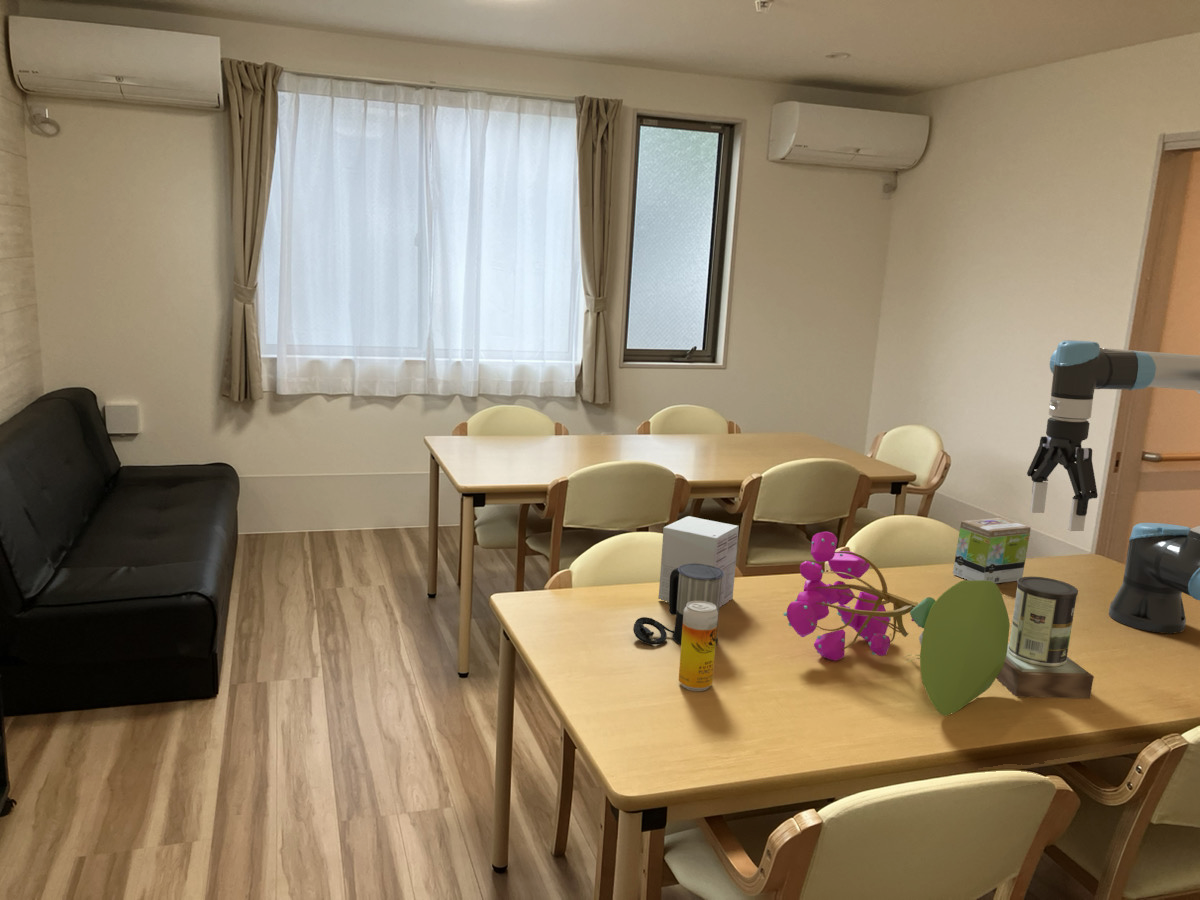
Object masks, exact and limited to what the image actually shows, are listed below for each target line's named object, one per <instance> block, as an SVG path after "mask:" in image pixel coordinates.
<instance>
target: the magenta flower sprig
mask: <svg viewBox="0 0 1200 900" xmlns="http://www.w3.org/2000/svg"><path fill="white" fill-rule="evenodd" d="M837 544H838V537H837V536H836V535H835V534H834V533H832V532H830V531H821V532H817V533H815V534H814V535H812V538H811V546H810V555H811V556H812V558H813V560H814V562H812V561H808V560H805V561H803V562H801V563H800V565H799V573H800V575H801V576H802V577H803V578H804V579H805V581H804V584H803V591H800V592H799V593H798V595H797V596H796V597H797V598H795V599H794V601H791V602H790V603H789V604H788V606H787V608H786V612H783V616H784V617H787V618H786V619H787V621H788V623H787V624H788V626H789V627H792V628H793V630H794V631H795V632H796V634H797V635H799V637H800V638H805V637H807V636H808V635H810V634H812V633H814V631H816V629H817V628H819V629H821V630H823V631H826V633H823V634H822V635H818V636H816V639H815V641H814V643H813V647H814V649H815V650H816V653H817V654H818V655H820V656H821V657H822V658H825V659H828V660H830V661H839V660H841V659H843V658H844V657H845V652H846V651H845V650H846V649H848V648H849V647H851V646H852V645H853V644H855V642H856V641H857V639H858V638H859V637H860V638H862V639H863V640H864V641H866V643H868V646H869V649H870V651H871V654H872V655H874V656H879V657H880V656H881V657H882V656H887V653H888V650H889V648H890V646H891V643H892V642H893V640H895V637H896V634H897V633H900V634H901V635H902V636H903V637H905V638H906V637H908V636H909V632H908V631H907V630H906V629H905V627H904V626H905V625H904V623H903V616H904V615H907V614H909V615H910V617H911V621H912V622H914V623H915V624H916V626H918V628H921V629H923V631H922V632H921V633H920V635H919V636H918V640H919V644H920V651H919V653H920V654H916V656H918V657H919V658H917V660H919V664H920V665H919V667H920V676H921V681H922V684H923V687H924V688H925V689H924V690H925V692H926V694H927V696H928V698H929V700H930V702H931V704H932V705H933V707H934V708H935V710H936V711H937V712H938V713H939V714H940V715H942V716H944V717H947V716H946V715H949V714H951V713H954V712H955V713H957V712H958V711H960V710H961V709H962V708H964V707H965V706H967V705H968V704H970V703H971V702H972V701H974V700H975V699H976V698H978V697H979V696H981V695H982V694H983V693H985V692H986V691H988V690H989V689H990V687H991V686H992V685H993V684H994V682H995V680H997V679H996V677H997V676H998V674H999V673H1000V671H1001V670H1002V668H1003V665H1004V662H1005V659H1006V655H1007V647H1008V643H1009V639H1010V627H1011V625H1010V617H1009V613H1008V610H1007V607H1006V603H1005V600H1004V598H1003V597H1004V596H1003V595H1002V593H1001V590H1000V588H999V586H998V585H997V583H993V582H992V581H987V580H961V581H959V582H957V583H955V584H954V585H952V586H951V587H949V588H948V589H946V590H945V591H944V592H943V593H942V594H941V595H940V596H939V597H938V598H937V599H936V600H935V598H934V597H931V596H928V597H925V598H923V600H921V601H920V602H919V603H918V602H914V601H912V600H909V599H906V598H905V597H902V596H899V595H897V594H893V593H890V592H888V586H887V583H886V579H885V577H884V575H883V574H882V572H881V571H880V569H878V567H877V566H876V564H874V562H872V561H871V560H869V559H868V558H866V557H865V556H862V554H858V553H856V552H853V551H849V550H848V551H847V550H846V551H845V550H843V551H840V550H839V551H836V550H837ZM824 562H827V563H828V566H829V568H830V570H831V571H832V572H831V571H829V572H828V571H827V572H825V571H824V570H823V565H822V564H820V563H824ZM870 567H871V568H872V569H873V570H874V571H875V573H876V574H877V576H878V579H879V581H880V584H881V588H882V589H877V588H876V587H874V586H873V585H871V584H869V583H868V582H867V581H865V580H863V579H861V577H862V576H864V574H866V572H868V571H869V568H870ZM823 574H836V575H837V576H838V577H839V578H842V579H845V580H854V579H855V580H857V581H859V582H861V583H862V584H864V585H861V584H848V583H846V582H844V581H842V580H837V581H834V583H833V584H831V583H828V584H826V583H825V582H824V581H822V578H823ZM865 585H866V586H865ZM852 590H857V591H859V593H858V596H856V595H855V593H854V592H853V591H852ZM854 599H857V600H856V603H855V605H854V607H853V608H851V606H849V605H848V604H849V603H850V602H851V601H853V600H854ZM836 603H837V604H838V605H835V604H836ZM889 603H890V604H893V610H886V607H885V605H887V604H889ZM846 605H847V606H846ZM829 607H830V608H832V609H836V610H837V613H836V614H837V615H838V616H840V618H841V619H840V620H841V622H842V623H843V624H844V625H843V626H841V627H838V628H833V629H831V628H829V629H827V628H824V627H820V626H819V625H818V622H819V621H820V620H823V619H826V617H828V615H829V614H830V609H829ZM891 618H892V619H893V620H892V619H891ZM891 620H892V621H893V623H892V622H891ZM847 627H850V628H852V629H853V630H854V631H855V632H856V635H855V637H854V639H853V640H852V642H851V643H849V644H848V645H847V646H845V645H846V631H845V630H844V629H845V628H847ZM888 627H889V628H890V629H892V630H893V632H892V638H890V636H889V635H886V634H887V630H888ZM896 632H897V633H896ZM910 656H911V654H908V655H905V656H904V657H903V658H905V657H910ZM903 658H902V659H903ZM913 660H914V658H912V659H909V660H907V661H905V663H906V662H909V661H913ZM956 711H957V712H956ZM955 713H954V714H955ZM949 716H950V715H949Z"/></svg>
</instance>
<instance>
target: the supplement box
mask: <svg viewBox="0 0 1200 900" xmlns="http://www.w3.org/2000/svg"><path fill="white" fill-rule="evenodd" d="M662 530H663V531H662V544H661V547H662V548H661V561H660V571H659V572H660V573H659V577H660V578H659V588H658V599H661V600H664V601H667V602H669V589H670V575H671V572H672V571H673V570H674V569H676V568H679V567H680V566H681V565H685V564H693V563H698V564H706V565H711V566H714V567H717V568H719V569H721V570H722V571H723V572H724V576H723V577H722V587H721V597H720V606H719V607H720V608H721V607H723V606H724V605H725V604H727V603H729V602H730V601H731V600H732V598H734V588H735V575H736V563H737V551H738V541H739V530H740V529H739V525H735V524H731V523H725V522H721V521H720V522H719V521H715V520H711V519H710V520H709V519H704V518H699V517H695V516H690V515H688V516H685V517H683V518H680V519H679V520H677V521H674V522H671V523H670V524H667V525H666V526H664V527H663V528H662ZM658 599H657V600H658ZM729 600H730V601H729ZM722 605H723V606H722Z"/></svg>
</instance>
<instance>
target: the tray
mask: <svg viewBox="0 0 1200 900" xmlns="http://www.w3.org/2000/svg"><path fill="white" fill-rule="evenodd" d="M1008 647H1009V642H1008ZM1008 647H1007V655H1006V659H1005V662H1004V665H1003V668H1002V670H1001V671H1000V673H999V674H998V676H997V677H996V679H995V680H998V682H1000V684H1002V686H1004V687H1005V688H1006V689H1007V690H1008V691H1009V692H1011V694H1013V695H1014V696H1015V697H1023V698H1050V699H1051V698H1055V699H1056V698H1059V699H1060V698H1061V699H1086V698H1087V699H1089V700H1090V699H1091V693H1092V688H1093V681H1094V677H1095V676H1094V675H1093V674H1091V673H1090V672H1088V670H1086V669H1085V668H1084V667H1082V666H1081V665H1080V664H1078V663H1077V662H1075V661H1074V660H1073V659H1071V658H1070V657H1069V656H1067V662H1066V664H1064V665H1062V666H1056V667H1050V666H1040V665H1035V664H1031V663H1028V662H1025V661H1022V660H1019V659H1017V658H1016V657H1014V656H1012V655H1011V654H1010V653H1009V651H1008ZM1087 699H1086V700H1087Z"/></svg>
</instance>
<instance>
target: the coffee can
mask: <svg viewBox="0 0 1200 900" xmlns="http://www.w3.org/2000/svg"><path fill="white" fill-rule="evenodd" d="M1016 584H1017V585H1016V593H1015V599H1014V609H1013V615H1012V621H1011V622H1012V623H1011V630H1010V634H1009V641H1008V643H1009V647H1008V651H1009V653H1010V654H1011V655H1012V656H1014V657H1016V658H1017V659H1019V660H1022V661H1025V662H1028V663H1031V664H1035V665H1040V666H1050V667H1056V666H1062V665H1064V664H1066V662H1067V657H1068V652H1069V647H1070V639H1071V633H1072V627H1073V621H1074V614H1075V609H1076V602H1077V596H1078V594H1079V590H1078V588H1077V587H1075V586H1074V585H1072V584H1070V583H1067V582H1065V581H1061V580H1058V579H1054V578H1048V577H1045V576H1044V577H1042V576H1022V578H1019V579H1018V580H1017V581H1016Z"/></svg>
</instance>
